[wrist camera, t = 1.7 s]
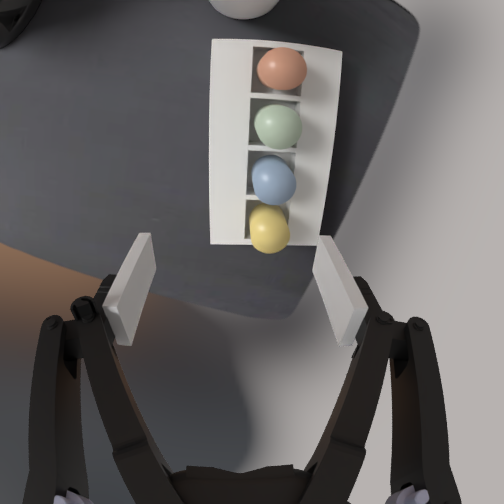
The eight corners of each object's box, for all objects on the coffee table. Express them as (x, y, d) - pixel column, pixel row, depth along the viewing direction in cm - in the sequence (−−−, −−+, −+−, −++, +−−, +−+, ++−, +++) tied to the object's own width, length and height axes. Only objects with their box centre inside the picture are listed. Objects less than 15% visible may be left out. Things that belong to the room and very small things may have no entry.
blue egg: (252, 153, 31) (254, 164, 27) (290, 155, 31) (298, 166, 27) (250, 189, 33) (252, 204, 29) (287, 190, 33) (293, 206, 30)
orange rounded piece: (257, 51, 24) (260, 45, 20) (298, 55, 24) (308, 50, 21) (255, 88, 27) (258, 88, 23) (295, 91, 27) (305, 92, 23)
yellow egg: (249, 201, 34) (251, 218, 30) (285, 203, 34) (292, 219, 30) (248, 233, 36) (249, 253, 33) (282, 234, 37) (287, 253, 33)
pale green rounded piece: (254, 102, 27) (257, 104, 24) (294, 105, 28) (304, 108, 24) (252, 140, 30) (255, 148, 26) (291, 142, 30) (300, 151, 26)
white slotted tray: (214, 44, 26) (212, 39, 23) (332, 54, 27) (342, 51, 24) (212, 230, 39) (210, 244, 36) (311, 232, 40) (317, 245, 37)
